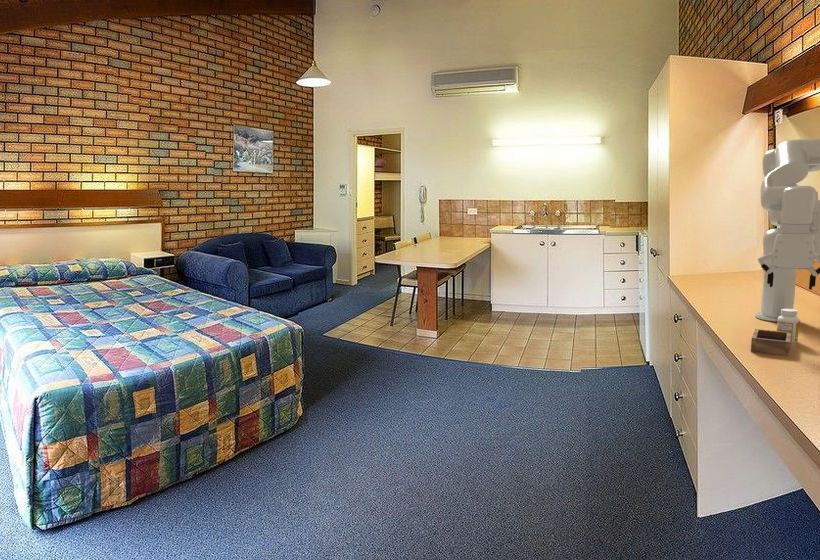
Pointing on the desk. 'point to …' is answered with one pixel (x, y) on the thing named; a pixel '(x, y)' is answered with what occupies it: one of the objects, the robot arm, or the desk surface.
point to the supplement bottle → (789, 323)
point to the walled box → (771, 342)
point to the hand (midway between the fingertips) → (790, 287)
